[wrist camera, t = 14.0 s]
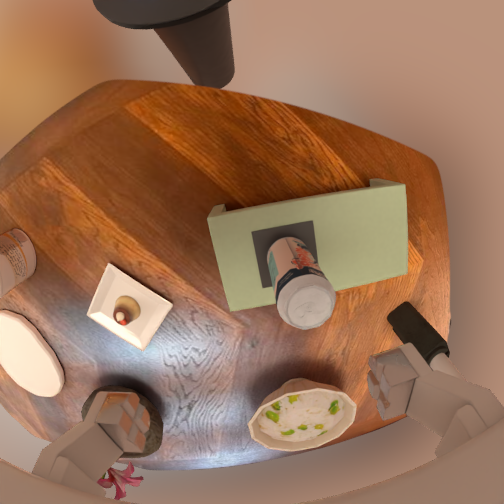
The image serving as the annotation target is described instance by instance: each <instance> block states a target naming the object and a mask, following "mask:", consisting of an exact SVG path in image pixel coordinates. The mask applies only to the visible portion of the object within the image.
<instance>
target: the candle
mask: <svg viewBox="0 0 504 504" xmlns="http://www.w3.org/2000/svg"><path fill="white" fill-rule="evenodd" d="M387 319H388V321H389V323H390V324H391V325H392V327H393V330H394V332H395V333H396V334H397V336H398V337H399V338H400V340H401V341H402V342H403V344H407V343H412V344H413V346H414V347H415V348H416V349H417V351H418V352H419V353H420V355H421V356H422V357H423V359H424V360H425V361H426V363H427V364H428V365H429V367H430V368H431V369H432V371H435V370H438V371H441V372H443V373H446V374H449V375H451V376H454V377H457V378H459V379H462V380H465V381H466V379H465V378H464V377H463V376H462V374H461V373H460V372H459V371H458V369H457V368H456V367H455V366H454V364H453V363H452V362H451V361H450V359H449V354H450V352H449V349H448V346H447V342H446V341H445V340H444V339H443V338H442V337H441V335H440V334H439V333H438V332H437V331H436V330H435V329H434V328H433V327H432V326H431V325H430V324H429V323H428V322H427V320H426V319H425V318H424V317H423V316H422V315H421V314H420V313H419V312H418V311H417V310H416V309H415V308H414V307H413V306H412V305H411V304H410V303H409V302H404V303H402V304H401V305H400V306H399V307H397V308H396V309H395V310H393V311H392V312H391V313H390V314H389V315H388V318H387Z"/></svg>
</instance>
